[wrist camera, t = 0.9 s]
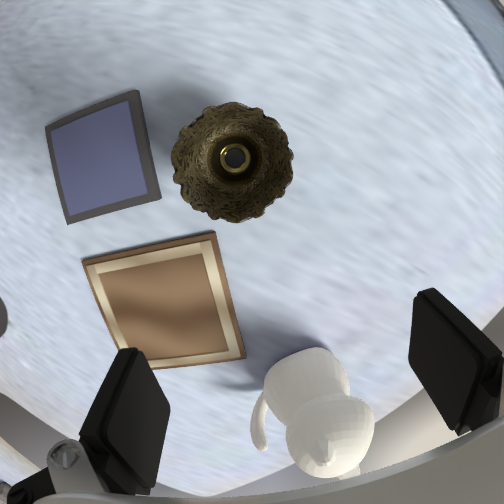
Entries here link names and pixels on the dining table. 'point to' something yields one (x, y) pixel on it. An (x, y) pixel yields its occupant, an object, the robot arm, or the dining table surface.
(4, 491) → the decorative stone
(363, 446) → the cat figurine
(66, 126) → the ink pad
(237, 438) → the dining table surface
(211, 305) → the marked board
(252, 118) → the cup
